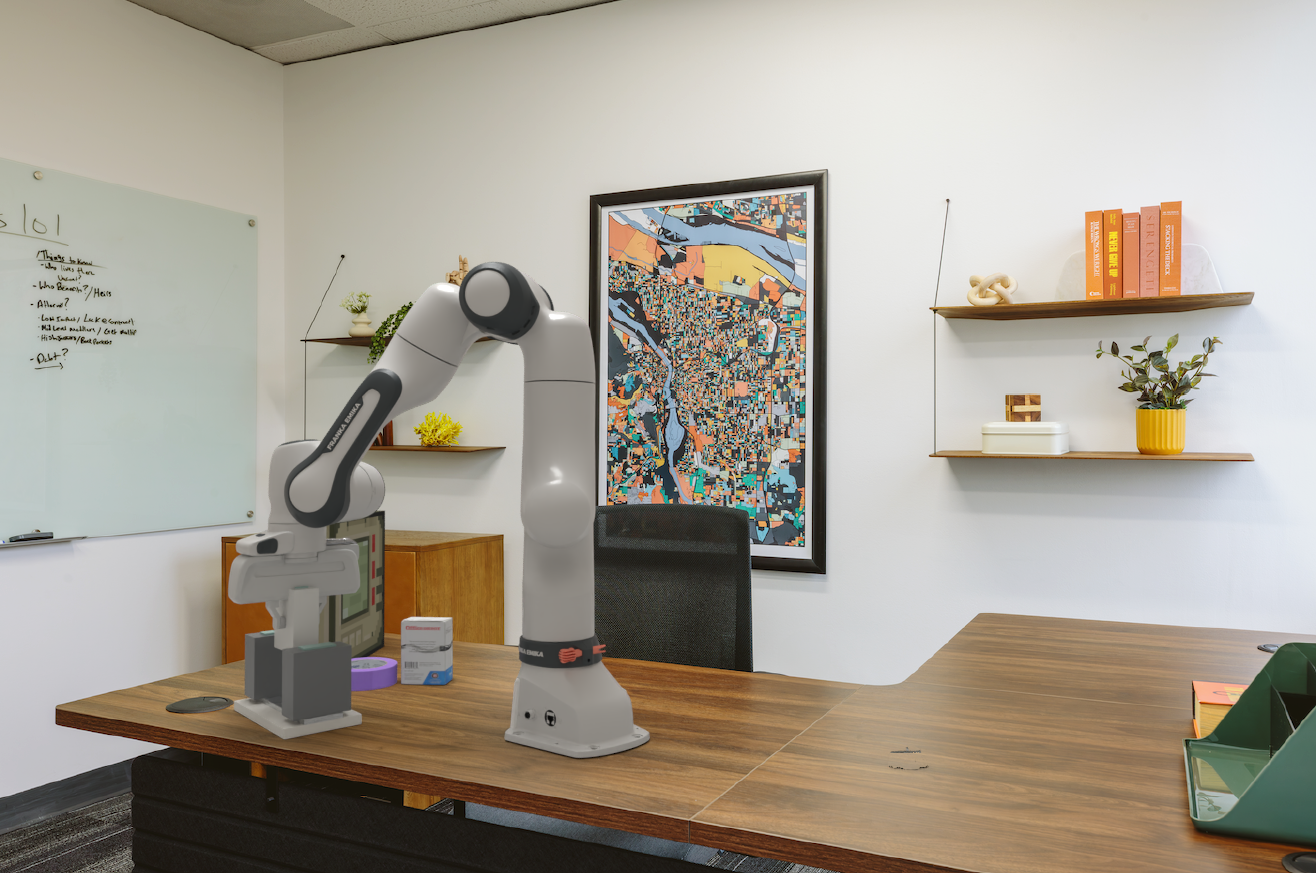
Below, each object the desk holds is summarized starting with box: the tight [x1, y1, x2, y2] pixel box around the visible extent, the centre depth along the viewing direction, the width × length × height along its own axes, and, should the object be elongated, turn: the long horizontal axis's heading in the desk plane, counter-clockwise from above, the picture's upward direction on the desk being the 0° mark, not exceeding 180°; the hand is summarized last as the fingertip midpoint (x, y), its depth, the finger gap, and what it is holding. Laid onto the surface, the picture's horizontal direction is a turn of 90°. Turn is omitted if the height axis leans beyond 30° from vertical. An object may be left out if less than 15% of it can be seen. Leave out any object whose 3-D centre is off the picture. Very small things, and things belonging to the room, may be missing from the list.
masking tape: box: [351, 656, 398, 692], centre depth 172 cm, size 12×12×4 cm
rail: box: [257, 695, 343, 725], centre depth 149 cm, size 22×6×1 cm, turn 42°
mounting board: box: [233, 697, 363, 740], centre depth 149 cm, size 22×12×2 cm, turn 42°
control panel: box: [318, 510, 386, 659], centre depth 191 cm, size 30×8×30 cm, turn 178°
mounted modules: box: [244, 629, 352, 721], centre depth 149 cm, size 21×9×10 cm, turn 42°
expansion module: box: [273, 586, 319, 650], centre depth 150 cm, size 4×8×10 cm, turn 42°
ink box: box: [400, 616, 454, 686], centre depth 173 cm, size 8×5×12 cm, turn 84°
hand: (296, 626), depth 150 cm, fingers closed on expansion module, 4 cm apart
